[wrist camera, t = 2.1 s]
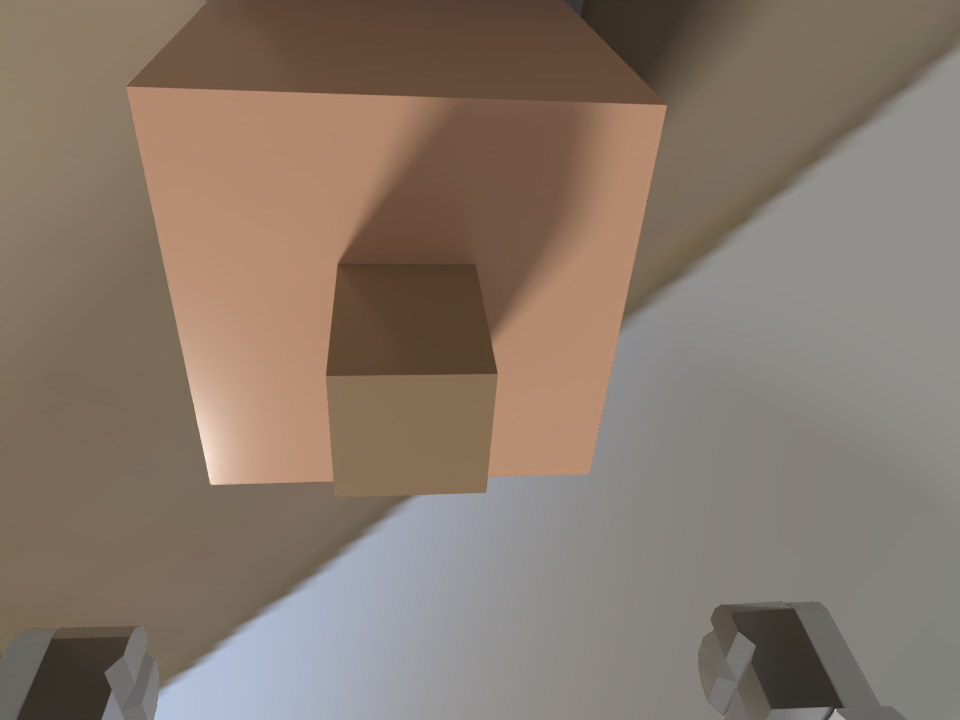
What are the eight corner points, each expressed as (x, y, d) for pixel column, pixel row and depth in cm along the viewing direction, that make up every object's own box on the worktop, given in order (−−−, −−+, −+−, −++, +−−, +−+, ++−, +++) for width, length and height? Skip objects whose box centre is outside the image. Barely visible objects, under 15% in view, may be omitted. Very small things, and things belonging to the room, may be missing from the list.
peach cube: (264, 278, 28) (176, 617, 16) (228, -20, 22) (43, 171, 10) (528, 279, 29) (627, 595, 17) (562, -2, 23) (746, 186, 11)
